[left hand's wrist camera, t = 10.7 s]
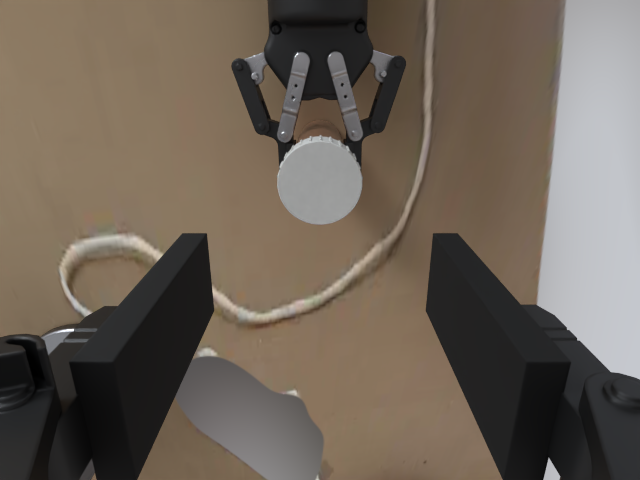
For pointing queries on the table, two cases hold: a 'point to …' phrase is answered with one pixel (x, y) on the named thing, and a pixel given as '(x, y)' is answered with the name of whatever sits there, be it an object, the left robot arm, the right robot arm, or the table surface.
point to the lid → (319, 180)
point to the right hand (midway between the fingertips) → (320, 183)
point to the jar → (320, 130)
